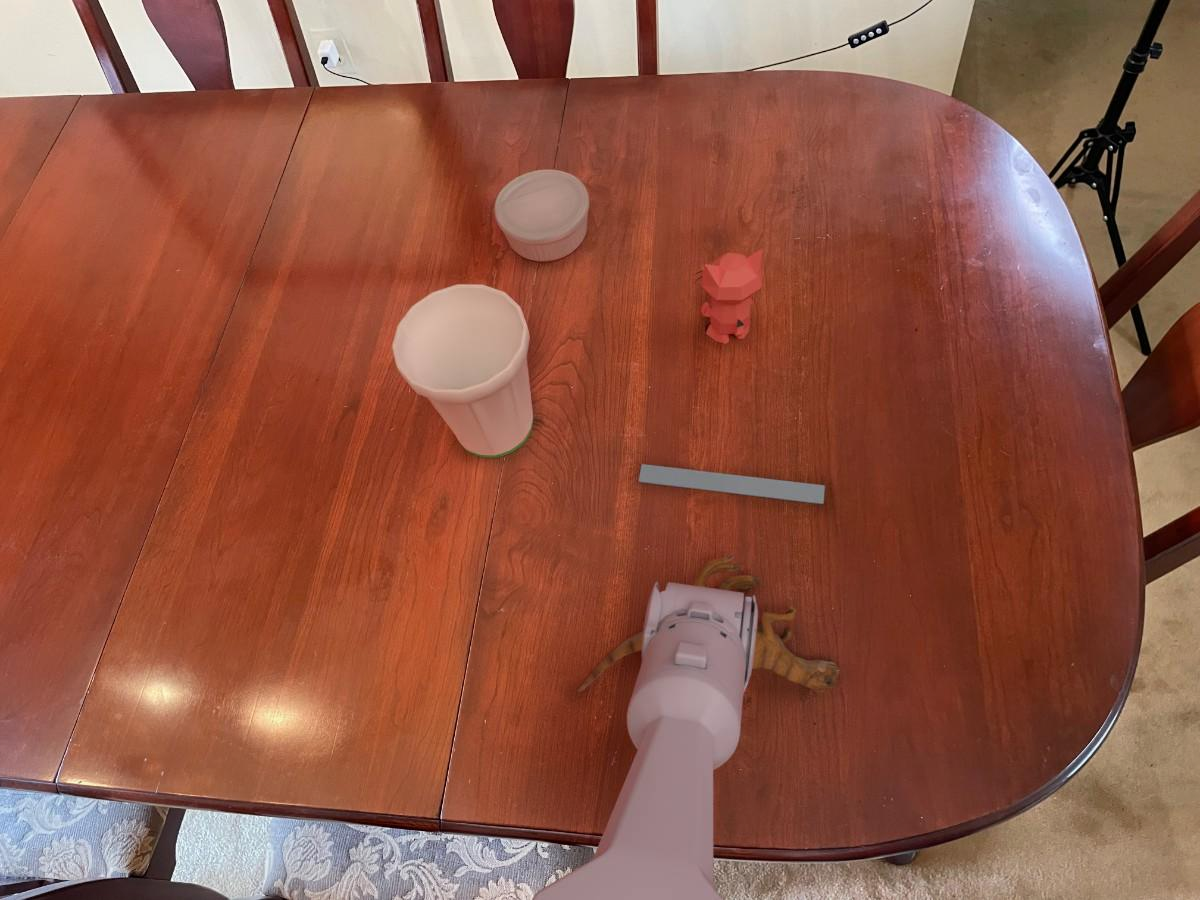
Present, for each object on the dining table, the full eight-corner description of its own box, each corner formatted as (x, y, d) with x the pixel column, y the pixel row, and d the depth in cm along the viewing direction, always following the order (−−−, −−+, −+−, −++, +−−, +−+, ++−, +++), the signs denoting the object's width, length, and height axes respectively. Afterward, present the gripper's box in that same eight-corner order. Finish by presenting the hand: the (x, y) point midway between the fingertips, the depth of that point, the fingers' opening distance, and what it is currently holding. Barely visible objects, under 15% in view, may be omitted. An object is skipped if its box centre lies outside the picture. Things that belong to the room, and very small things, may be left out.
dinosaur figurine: (840, 595, 77) (836, 729, 71) (599, 567, 80) (577, 693, 75) (851, 569, 71) (848, 713, 65) (590, 540, 75) (566, 674, 69)
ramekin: (542, 188, 106) (535, 155, 102) (612, 224, 102) (608, 190, 97) (483, 245, 103) (473, 213, 98) (553, 284, 98) (546, 252, 94)
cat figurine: (750, 300, 94) (756, 221, 84) (772, 347, 91) (781, 271, 80) (689, 316, 94) (688, 240, 84) (709, 364, 91) (710, 291, 80)
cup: (531, 486, 85) (500, 405, 72) (419, 462, 88) (369, 379, 75) (567, 386, 91) (545, 293, 78) (461, 366, 94) (422, 273, 81)
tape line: (823, 504, 81) (823, 503, 81) (638, 482, 84) (638, 481, 84) (824, 486, 82) (824, 485, 82) (641, 464, 85) (641, 463, 85)
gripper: (659, 569, 63) (665, 626, 75) (625, 772, 56) (638, 800, 68) (754, 582, 62) (746, 638, 73) (732, 792, 55) (726, 816, 67)
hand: (700, 717), depth 71 cm, fingers closed
